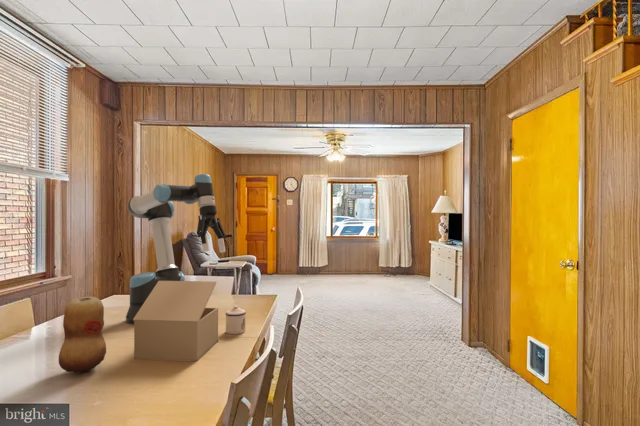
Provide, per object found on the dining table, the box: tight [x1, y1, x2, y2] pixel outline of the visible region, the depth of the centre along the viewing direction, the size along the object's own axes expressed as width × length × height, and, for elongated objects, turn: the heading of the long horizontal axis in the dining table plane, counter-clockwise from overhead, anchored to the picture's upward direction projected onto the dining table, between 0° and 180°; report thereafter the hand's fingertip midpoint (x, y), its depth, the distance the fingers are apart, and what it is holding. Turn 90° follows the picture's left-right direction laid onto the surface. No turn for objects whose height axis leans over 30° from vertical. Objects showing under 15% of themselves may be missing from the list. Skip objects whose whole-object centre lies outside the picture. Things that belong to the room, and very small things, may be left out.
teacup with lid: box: [224, 305, 247, 335], centre depth 177 cm, size 12×9×12 cm
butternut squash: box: [58, 296, 107, 374], centre depth 131 cm, size 14×13×25 cm
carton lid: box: [133, 280, 217, 323], centre depth 150 cm, size 25×22×1 cm
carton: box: [133, 307, 219, 362], centre depth 152 cm, size 24×22×14 cm
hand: (214, 251), depth 174 cm, fingers open, 13 cm apart
